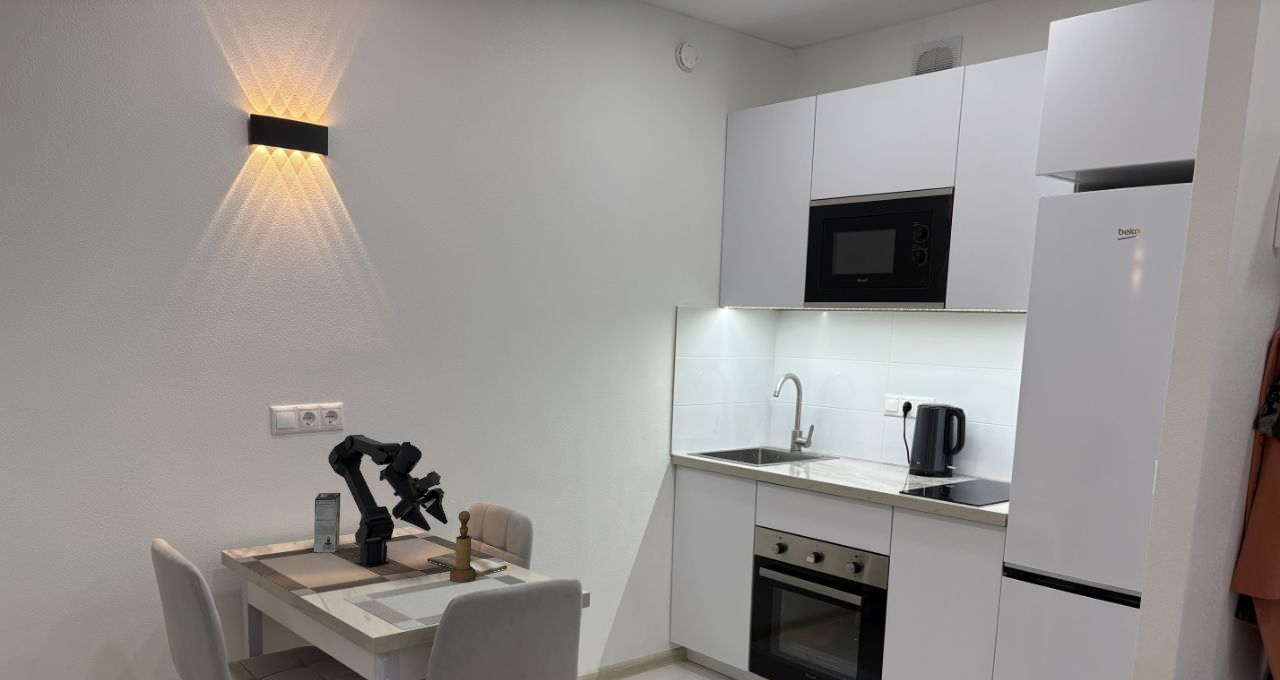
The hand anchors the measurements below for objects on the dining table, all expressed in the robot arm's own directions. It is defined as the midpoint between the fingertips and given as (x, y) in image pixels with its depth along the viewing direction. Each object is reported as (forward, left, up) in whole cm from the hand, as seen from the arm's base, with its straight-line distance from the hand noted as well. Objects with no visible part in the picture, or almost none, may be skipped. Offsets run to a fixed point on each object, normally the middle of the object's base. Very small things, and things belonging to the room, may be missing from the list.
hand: (438, 526), depth 228 cm
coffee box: (-4, +47, -13) cm, 49 cm away
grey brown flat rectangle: (+13, +3, -13) cm, 19 cm away
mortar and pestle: (+3, -7, -13) cm, 16 cm away
